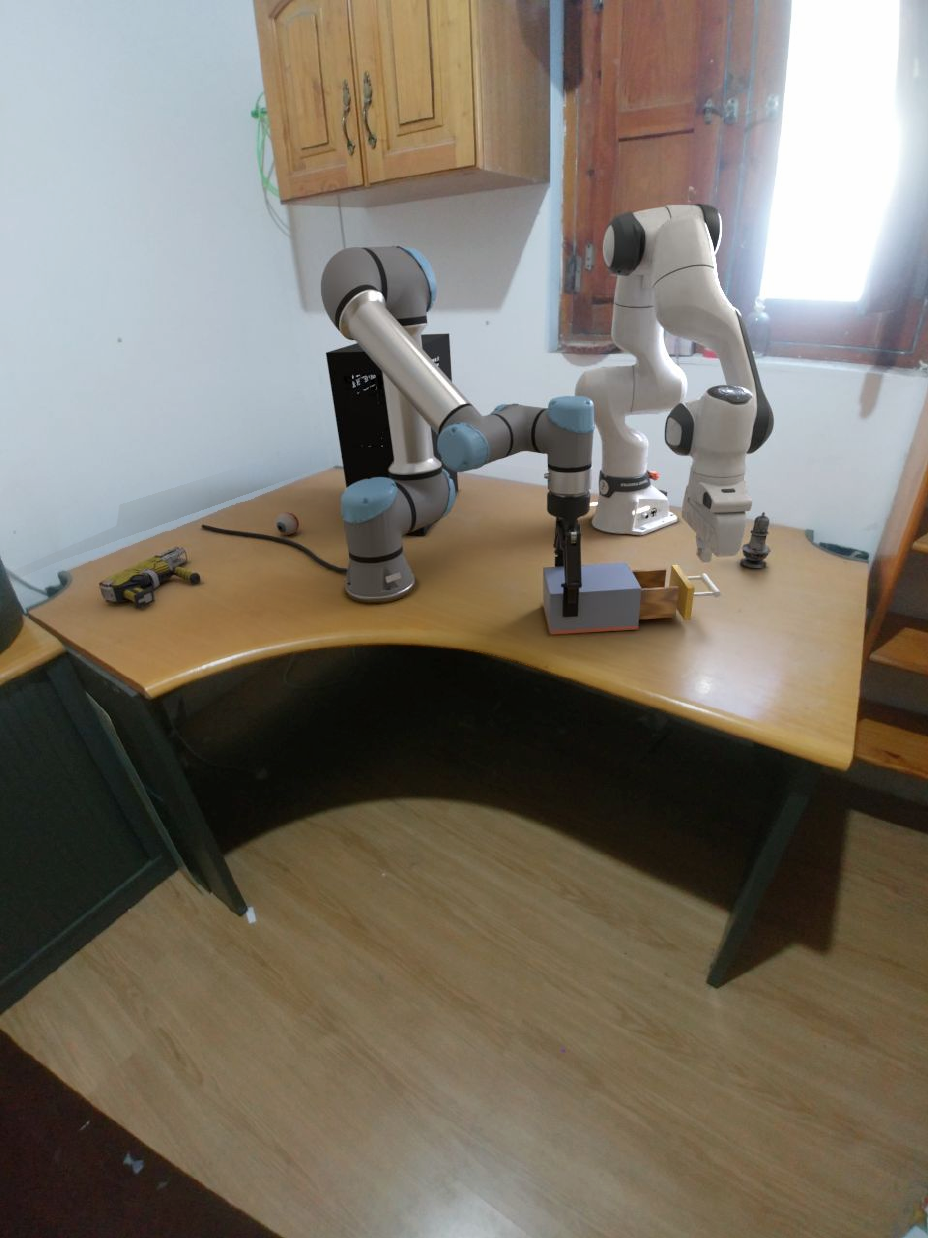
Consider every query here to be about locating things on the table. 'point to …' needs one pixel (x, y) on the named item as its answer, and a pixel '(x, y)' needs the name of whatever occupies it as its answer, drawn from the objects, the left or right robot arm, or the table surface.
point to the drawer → (669, 592)
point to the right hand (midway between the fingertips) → (703, 559)
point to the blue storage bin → (594, 599)
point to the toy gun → (146, 578)
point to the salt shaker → (757, 544)
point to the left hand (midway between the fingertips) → (565, 600)
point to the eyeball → (287, 523)
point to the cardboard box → (373, 411)
